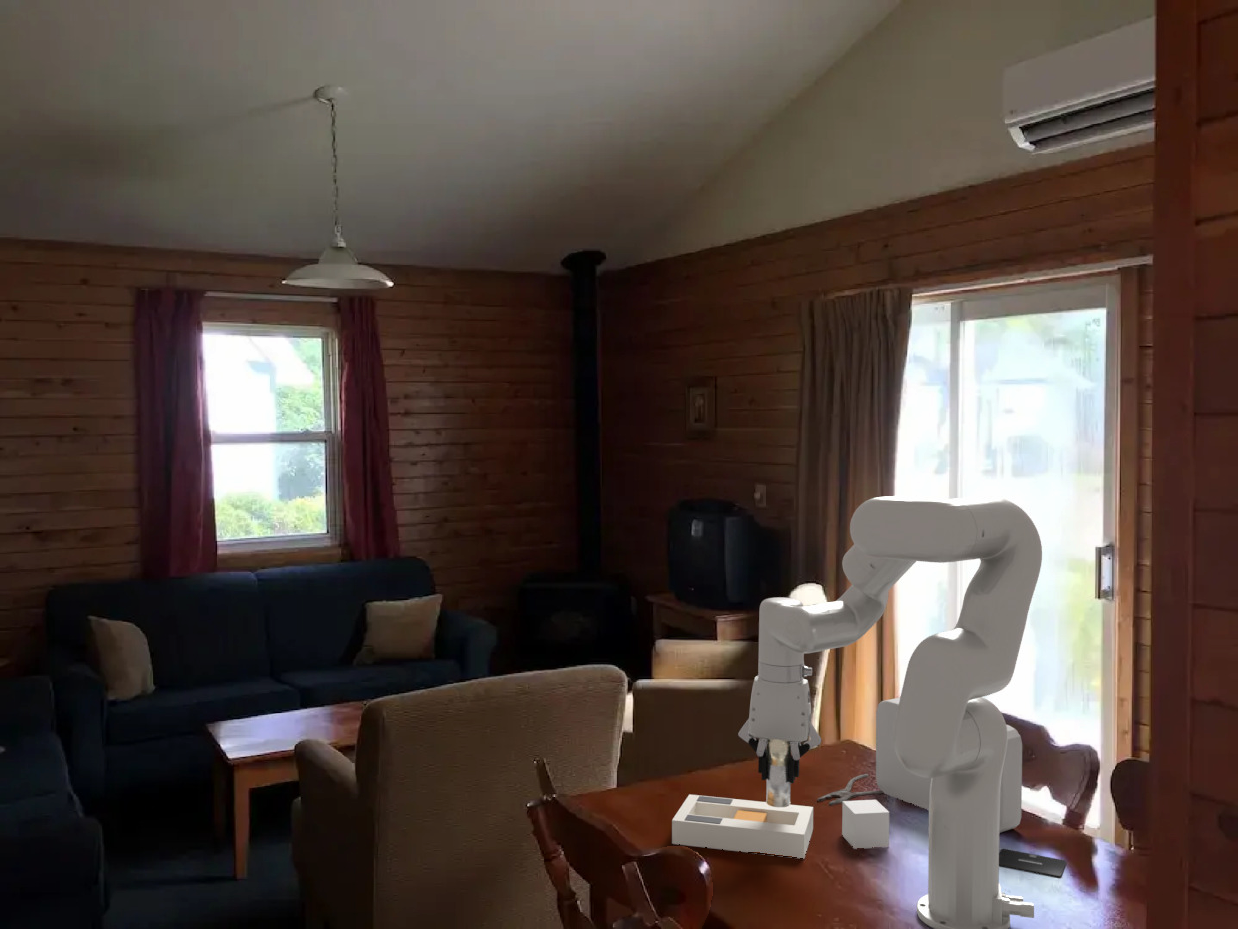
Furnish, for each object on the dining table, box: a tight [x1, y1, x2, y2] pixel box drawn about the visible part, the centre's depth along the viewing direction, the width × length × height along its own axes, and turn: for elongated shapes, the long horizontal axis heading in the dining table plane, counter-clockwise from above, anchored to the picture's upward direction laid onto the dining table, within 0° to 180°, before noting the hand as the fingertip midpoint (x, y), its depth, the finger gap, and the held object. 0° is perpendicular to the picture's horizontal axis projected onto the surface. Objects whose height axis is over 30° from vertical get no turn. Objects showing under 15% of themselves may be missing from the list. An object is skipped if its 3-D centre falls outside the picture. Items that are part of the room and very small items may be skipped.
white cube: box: [841, 799, 890, 850], centre depth 177 cm, size 6×6×6 cm
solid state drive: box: [999, 848, 1067, 879], centre depth 168 cm, size 7×10×1 cm
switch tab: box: [734, 810, 767, 822], centre depth 179 cm, size 5×5×2 cm
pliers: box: [816, 773, 885, 806], centre depth 201 cm, size 10×1×20 cm
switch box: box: [671, 793, 814, 860], centre depth 179 cm, size 22×13×4 cm, turn 73°
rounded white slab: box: [875, 697, 1023, 834], centre depth 192 cm, size 29×8×18 cm, turn 33°
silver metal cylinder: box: [765, 739, 792, 807], centre depth 177 cm, size 4×4×12 cm
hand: (778, 778), depth 178 cm, fingers closed on silver metal cylinder, 4 cm apart
